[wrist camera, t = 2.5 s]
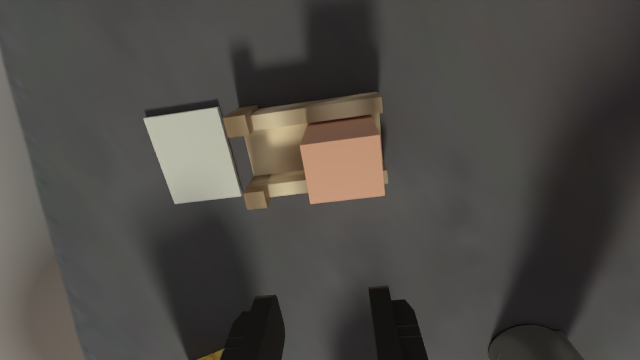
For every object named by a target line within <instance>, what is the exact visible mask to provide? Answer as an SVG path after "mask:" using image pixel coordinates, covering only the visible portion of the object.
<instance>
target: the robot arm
mask: <svg viewBox="0 0 640 360" xmlns="http://www.w3.org/2000/svg"><path fill="white" fill-rule="evenodd" d="M368 288H369V297H370V305H371V314H372V322H373V331H374V338H375V346H376V354H377V360H428V357H427V353H426V350H425V347H424V343H423V340H422V337H421V333H420V329H419V326H418V322H417V319H416V316H415V312H414V310H413V309H412V307H411V306H410V305H409V304H408V303H407V301H406V300H405V299H404V300H391V297H390V292H389V288H388V286H377V287H368ZM284 341H285V327H284V322H283V318H282V314H281V310H280V306H279V303H278V299H277V296H276V295H267V296H256V297H255V299H254V302H253V305H252V308H251V311H248V312H242V313H241V314H240V316H239V317H238V318H237V319H236V321H235V322H234V323H233V325H232V328H231V331H230V333H229V336H228V339H227V341H226V344H225V347H224V350H223V352H222V355H221V358H220V360H281V359H282V353H283V347H284ZM489 358H490V360H584V359H583V358H582V356H581V355H580V354H579V353H578V351H577V350H576V349H575V347H574V346H573V345H572V344H571V342H570V341H569V340H568V338H567V337H566V336H565V335H564V333H563V332H562V331H552V330H550V329H548V328H546V327H543V326H539V325H522V326H517V327H514V328H511V329H508V330H506V331H504V332H503V333H501V334H500V335H498V336H497V337H496V338H495V339H494V340H493V342H492V343H491V345H490V348H489Z"/></svg>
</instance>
